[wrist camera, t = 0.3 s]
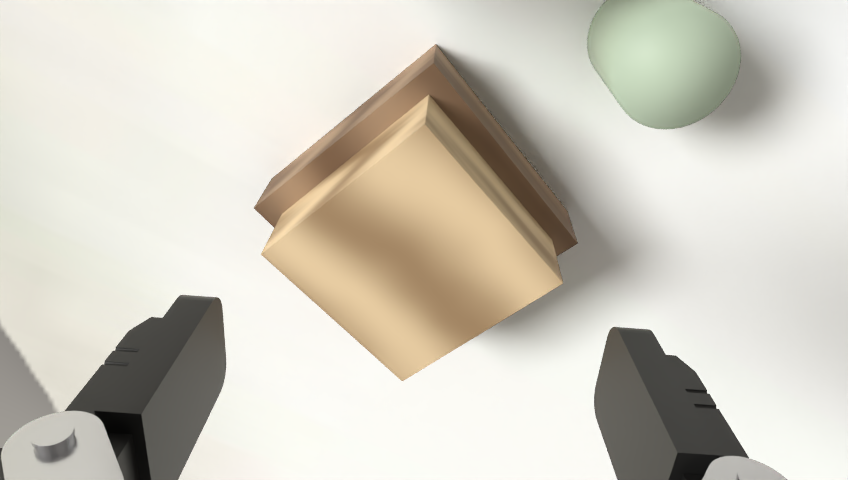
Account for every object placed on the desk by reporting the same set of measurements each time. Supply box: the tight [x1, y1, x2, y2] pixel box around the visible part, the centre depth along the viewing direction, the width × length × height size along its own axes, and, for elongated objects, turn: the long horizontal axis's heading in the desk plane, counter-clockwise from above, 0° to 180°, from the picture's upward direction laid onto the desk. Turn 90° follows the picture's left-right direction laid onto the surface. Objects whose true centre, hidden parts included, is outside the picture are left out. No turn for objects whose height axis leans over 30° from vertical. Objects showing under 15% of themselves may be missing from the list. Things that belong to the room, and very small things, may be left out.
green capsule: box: [587, 0, 741, 129], centre depth 28 cm, size 5×5×6 cm
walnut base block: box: [254, 44, 578, 256], centre depth 34 cm, size 12×12×4 cm
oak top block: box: [261, 95, 563, 381], centre depth 31 cm, size 10×10×4 cm
